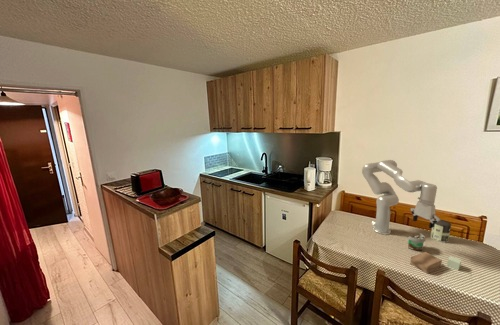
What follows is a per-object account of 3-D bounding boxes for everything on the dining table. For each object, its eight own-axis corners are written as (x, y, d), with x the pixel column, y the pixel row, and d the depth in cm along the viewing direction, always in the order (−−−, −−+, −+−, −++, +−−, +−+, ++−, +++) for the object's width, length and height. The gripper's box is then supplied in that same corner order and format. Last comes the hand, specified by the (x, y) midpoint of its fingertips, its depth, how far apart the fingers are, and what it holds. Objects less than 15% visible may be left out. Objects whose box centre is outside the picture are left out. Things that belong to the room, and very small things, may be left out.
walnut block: (410, 263, 126) (411, 257, 125) (424, 258, 131) (425, 251, 130) (426, 273, 118) (427, 266, 117) (440, 267, 122) (441, 260, 121)
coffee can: (446, 237, 152) (449, 221, 149) (449, 244, 144) (452, 227, 141) (429, 233, 158) (431, 217, 155) (430, 239, 150) (433, 223, 147)
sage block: (446, 265, 123) (448, 259, 122) (448, 262, 126) (450, 255, 125) (458, 270, 119) (459, 263, 118) (459, 267, 122) (461, 260, 121)
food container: (415, 253, 135) (417, 241, 133) (406, 248, 141) (408, 236, 139) (428, 250, 138) (430, 237, 136) (418, 245, 144) (420, 233, 142)
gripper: (409, 197, 138) (405, 219, 142) (438, 207, 122) (434, 231, 126) (416, 196, 140) (412, 217, 144) (446, 205, 124) (441, 229, 128)
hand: (422, 224), depth 135 cm, fingers open, 9 cm apart
